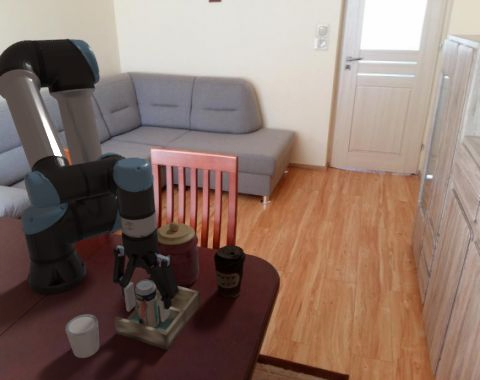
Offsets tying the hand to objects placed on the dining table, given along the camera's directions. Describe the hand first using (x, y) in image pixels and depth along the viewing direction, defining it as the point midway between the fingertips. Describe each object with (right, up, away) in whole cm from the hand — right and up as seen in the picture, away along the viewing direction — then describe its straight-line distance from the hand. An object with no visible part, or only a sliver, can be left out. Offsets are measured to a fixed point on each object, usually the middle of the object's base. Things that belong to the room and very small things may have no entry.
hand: (148, 312), depth 95 cm
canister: (+4, +4, +22) cm, 22 cm away
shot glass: (-13, -7, -4) cm, 16 cm away
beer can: (0, -4, +2) cm, 4 cm away
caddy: (+2, -3, +5) cm, 6 cm away
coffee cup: (+19, +1, +15) cm, 24 cm away
